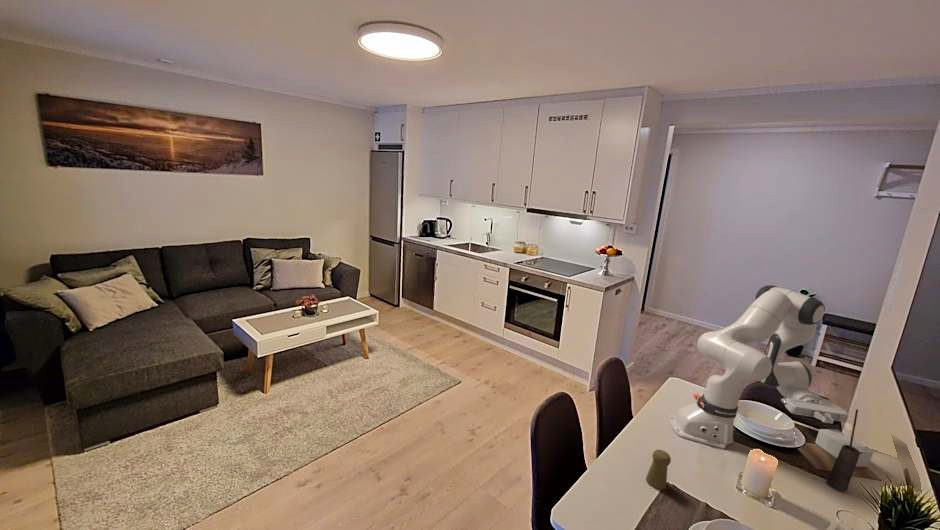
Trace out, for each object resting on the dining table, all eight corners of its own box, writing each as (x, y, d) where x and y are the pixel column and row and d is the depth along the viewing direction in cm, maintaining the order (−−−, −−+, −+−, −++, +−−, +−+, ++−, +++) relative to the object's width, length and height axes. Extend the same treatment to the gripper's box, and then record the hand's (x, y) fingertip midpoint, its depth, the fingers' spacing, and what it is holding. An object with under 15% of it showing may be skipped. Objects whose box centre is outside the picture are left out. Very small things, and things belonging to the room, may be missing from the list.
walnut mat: (816, 469, 140) (817, 468, 140) (790, 441, 155) (790, 440, 155) (880, 480, 137) (881, 479, 137) (847, 450, 152) (847, 449, 152)
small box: (814, 442, 154) (848, 467, 142) (819, 428, 153) (853, 451, 140) (833, 443, 155) (868, 467, 143) (837, 429, 154) (874, 452, 141)
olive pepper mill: (667, 492, 124) (674, 462, 121) (646, 485, 126) (653, 456, 123) (665, 479, 130) (672, 450, 127) (645, 472, 131) (651, 444, 129)
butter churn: (867, 499, 128) (896, 423, 122) (843, 500, 127) (871, 424, 120) (838, 477, 137) (863, 405, 130) (815, 478, 136) (839, 406, 129)
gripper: (780, 390, 167) (801, 409, 153) (834, 399, 164) (861, 419, 150) (776, 404, 168) (796, 423, 155) (830, 412, 165) (855, 433, 152)
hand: (828, 421), depth 152 cm, fingers closed
